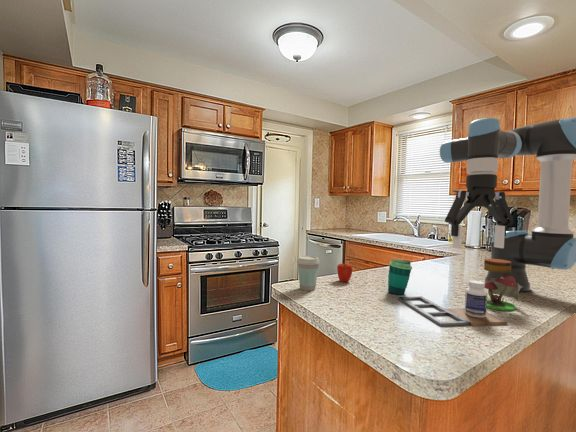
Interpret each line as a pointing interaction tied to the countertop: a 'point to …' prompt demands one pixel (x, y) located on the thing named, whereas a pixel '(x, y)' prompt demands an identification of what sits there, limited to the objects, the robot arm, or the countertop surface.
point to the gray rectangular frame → (431, 314)
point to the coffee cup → (308, 272)
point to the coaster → (476, 321)
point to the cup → (398, 276)
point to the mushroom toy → (501, 285)
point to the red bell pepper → (344, 272)
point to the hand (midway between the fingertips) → (478, 247)
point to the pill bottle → (476, 299)
